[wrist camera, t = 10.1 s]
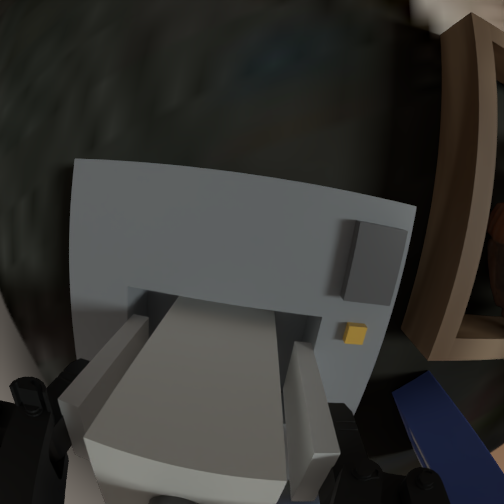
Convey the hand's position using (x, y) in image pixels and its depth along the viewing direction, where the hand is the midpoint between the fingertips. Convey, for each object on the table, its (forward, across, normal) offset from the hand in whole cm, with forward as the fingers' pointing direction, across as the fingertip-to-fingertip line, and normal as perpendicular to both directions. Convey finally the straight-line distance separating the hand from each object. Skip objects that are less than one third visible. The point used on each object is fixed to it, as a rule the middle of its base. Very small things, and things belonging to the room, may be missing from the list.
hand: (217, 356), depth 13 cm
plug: (+2, 0, 0) cm, 2 cm away
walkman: (+3, +14, -5) cm, 15 cm away
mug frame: (+2, +17, +10) cm, 20 cm away
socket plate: (+2, 0, 0) cm, 2 cm away
